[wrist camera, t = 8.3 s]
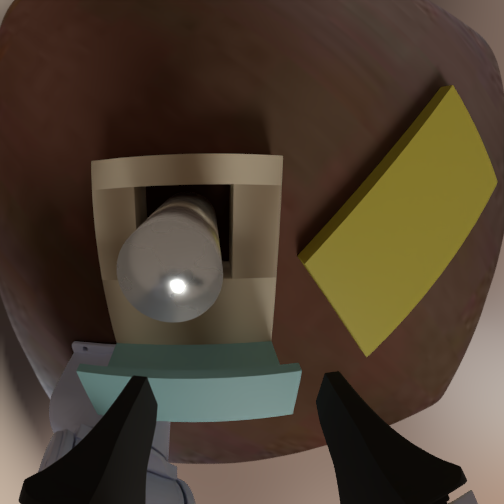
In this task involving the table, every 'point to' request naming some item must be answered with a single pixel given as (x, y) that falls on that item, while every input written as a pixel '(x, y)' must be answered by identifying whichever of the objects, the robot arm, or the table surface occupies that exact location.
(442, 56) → the table surface
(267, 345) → the teal block
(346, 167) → the table surface
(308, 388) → the table surface
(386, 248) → the flat olive board
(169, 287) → the peg
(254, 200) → the socket block
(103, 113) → the table surface
